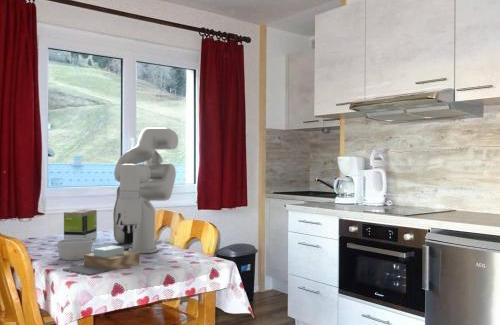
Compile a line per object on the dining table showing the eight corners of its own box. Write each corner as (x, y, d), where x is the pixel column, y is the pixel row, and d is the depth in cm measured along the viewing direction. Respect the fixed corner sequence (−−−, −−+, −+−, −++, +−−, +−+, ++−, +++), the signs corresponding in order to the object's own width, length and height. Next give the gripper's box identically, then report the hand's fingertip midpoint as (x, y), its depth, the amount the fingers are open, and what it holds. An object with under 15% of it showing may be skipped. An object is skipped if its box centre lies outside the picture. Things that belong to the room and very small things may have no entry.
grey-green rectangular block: (112, 251, 173) (112, 245, 173) (123, 253, 170) (124, 246, 170) (93, 255, 166) (93, 248, 166) (105, 257, 163) (105, 250, 163)
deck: (113, 259, 179) (113, 249, 179) (139, 263, 172) (139, 253, 172) (83, 265, 167) (84, 254, 167) (110, 270, 160) (110, 259, 160)
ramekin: (81, 253, 191) (81, 237, 191) (99, 258, 182) (99, 240, 182) (50, 258, 180) (50, 240, 180) (67, 262, 172) (68, 244, 172)
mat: (83, 265, 167) (83, 264, 167) (110, 270, 160) (110, 269, 160) (62, 270, 159) (62, 269, 159) (89, 275, 152) (89, 274, 152)
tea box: (78, 237, 234) (79, 208, 234) (97, 238, 233) (97, 209, 233) (62, 242, 219) (63, 211, 219) (82, 243, 218) (83, 212, 218)
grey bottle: (125, 241, 224) (126, 184, 225) (139, 243, 218) (140, 185, 219) (108, 243, 216) (109, 184, 217) (122, 246, 210) (124, 185, 211)
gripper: (136, 195, 185) (135, 240, 184) (108, 195, 172) (106, 244, 171) (150, 195, 181) (149, 241, 180) (122, 196, 168) (120, 246, 168)
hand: (128, 243), depth 176 cm, fingers closed
